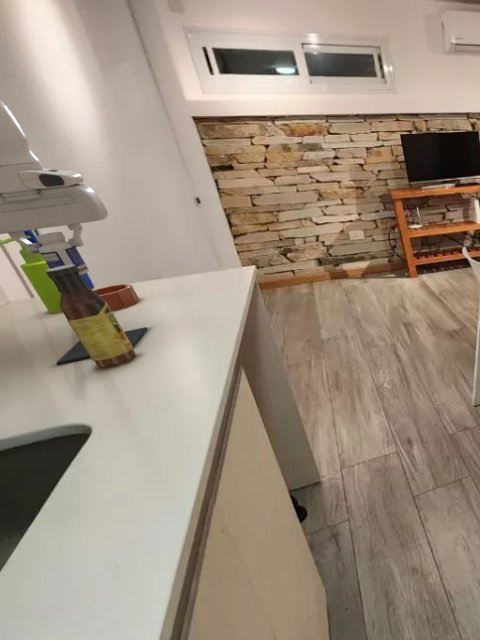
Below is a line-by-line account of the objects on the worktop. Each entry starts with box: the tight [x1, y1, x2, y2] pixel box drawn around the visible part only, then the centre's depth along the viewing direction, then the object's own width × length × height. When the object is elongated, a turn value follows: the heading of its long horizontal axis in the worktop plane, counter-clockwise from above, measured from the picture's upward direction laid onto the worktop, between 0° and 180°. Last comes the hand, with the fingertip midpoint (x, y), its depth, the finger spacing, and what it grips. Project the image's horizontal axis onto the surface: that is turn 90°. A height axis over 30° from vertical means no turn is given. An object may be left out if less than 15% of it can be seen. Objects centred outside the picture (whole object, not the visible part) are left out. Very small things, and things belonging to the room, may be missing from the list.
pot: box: [92, 283, 140, 312], centre depth 127 cm, size 10×10×4 cm
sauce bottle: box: [46, 264, 136, 368], centre depth 91 cm, size 6×6×20 cm
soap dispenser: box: [0, 235, 63, 314], centre depth 124 cm, size 6×7×20 cm
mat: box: [56, 326, 148, 366], centre depth 103 cm, size 12×12×1 cm
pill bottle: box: [34, 231, 90, 276], centre depth 100 cm, size 5×5×9 cm
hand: (58, 249), depth 99 cm, fingers closed on pill bottle, 5 cm apart
